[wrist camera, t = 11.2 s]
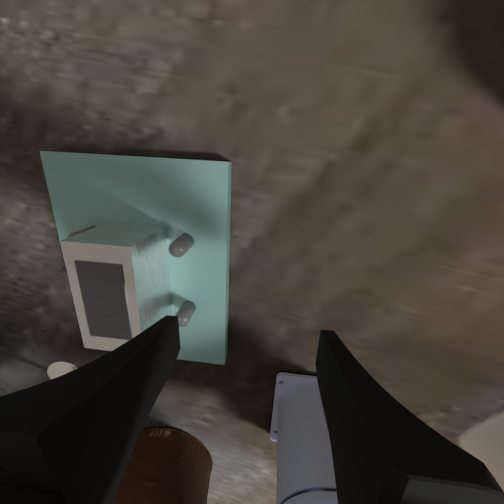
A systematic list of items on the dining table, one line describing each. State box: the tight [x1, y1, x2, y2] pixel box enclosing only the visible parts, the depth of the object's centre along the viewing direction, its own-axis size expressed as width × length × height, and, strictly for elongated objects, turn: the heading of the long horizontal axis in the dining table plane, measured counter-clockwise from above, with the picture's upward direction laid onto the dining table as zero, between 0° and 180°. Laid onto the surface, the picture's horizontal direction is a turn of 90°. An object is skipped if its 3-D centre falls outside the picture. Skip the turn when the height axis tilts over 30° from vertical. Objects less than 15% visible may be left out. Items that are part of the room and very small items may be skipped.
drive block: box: [60, 221, 172, 351], centre depth 19 cm, size 8×4×5 cm, turn 177°
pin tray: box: [39, 151, 231, 365], centre depth 21 cm, size 18×14×3 cm
